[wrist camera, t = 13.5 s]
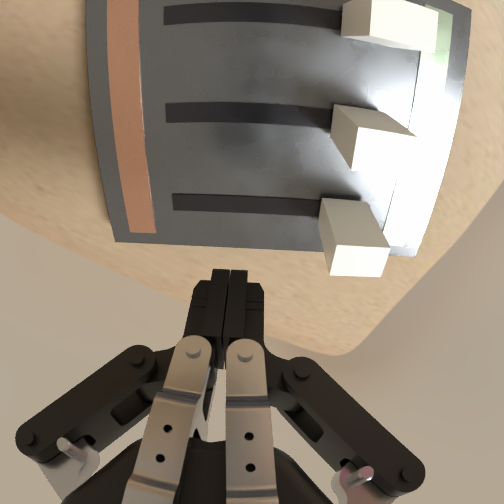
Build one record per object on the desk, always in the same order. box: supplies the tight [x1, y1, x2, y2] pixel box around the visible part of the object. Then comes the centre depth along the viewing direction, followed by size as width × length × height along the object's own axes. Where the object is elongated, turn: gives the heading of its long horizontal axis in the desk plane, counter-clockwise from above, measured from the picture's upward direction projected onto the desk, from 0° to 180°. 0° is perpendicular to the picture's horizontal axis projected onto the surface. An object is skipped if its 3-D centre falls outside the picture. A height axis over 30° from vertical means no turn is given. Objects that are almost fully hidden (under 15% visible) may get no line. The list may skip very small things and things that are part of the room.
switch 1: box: [341, 0, 438, 53], centre depth 11 cm, size 2×3×5 cm, turn 88°
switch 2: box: [318, 198, 391, 277], centre depth 18 cm, size 2×3×5 cm, turn 88°
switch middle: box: [330, 104, 420, 178], centre depth 14 cm, size 2×3×5 cm, turn 88°
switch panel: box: [86, 0, 471, 257], centre depth 18 cm, size 19×23×2 cm
